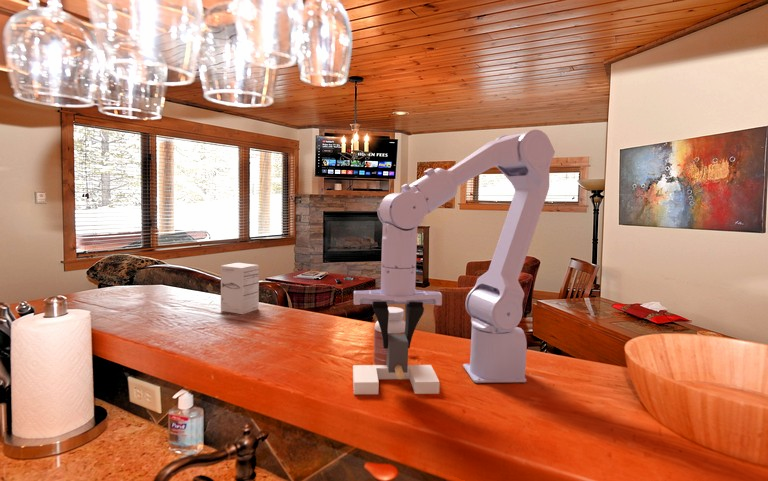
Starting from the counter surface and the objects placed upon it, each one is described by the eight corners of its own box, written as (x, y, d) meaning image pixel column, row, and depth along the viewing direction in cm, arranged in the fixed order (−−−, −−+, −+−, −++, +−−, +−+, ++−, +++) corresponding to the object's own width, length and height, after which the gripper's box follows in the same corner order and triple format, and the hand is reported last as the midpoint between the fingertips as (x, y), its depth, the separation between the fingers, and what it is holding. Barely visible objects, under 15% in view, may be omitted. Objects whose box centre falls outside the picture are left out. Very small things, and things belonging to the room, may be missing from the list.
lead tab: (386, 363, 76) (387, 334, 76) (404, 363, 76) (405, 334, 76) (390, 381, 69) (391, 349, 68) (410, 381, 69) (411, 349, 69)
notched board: (430, 375, 82) (430, 364, 81) (439, 393, 74) (439, 381, 74) (352, 376, 80) (353, 365, 80) (353, 394, 73) (353, 382, 73)
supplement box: (219, 311, 122) (219, 265, 120) (238, 306, 128) (238, 261, 127) (241, 315, 119) (241, 267, 118) (259, 309, 126) (259, 264, 124)
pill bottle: (396, 376, 81) (398, 315, 80) (367, 368, 84) (368, 310, 83) (411, 365, 86) (413, 308, 85) (383, 359, 89) (385, 304, 88)
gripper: (355, 269, 70) (353, 354, 71) (447, 270, 71) (443, 354, 72) (354, 262, 77) (352, 340, 78) (438, 264, 78) (435, 340, 79)
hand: (396, 346), depth 76 cm, fingers closed on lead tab, 3 cm apart
